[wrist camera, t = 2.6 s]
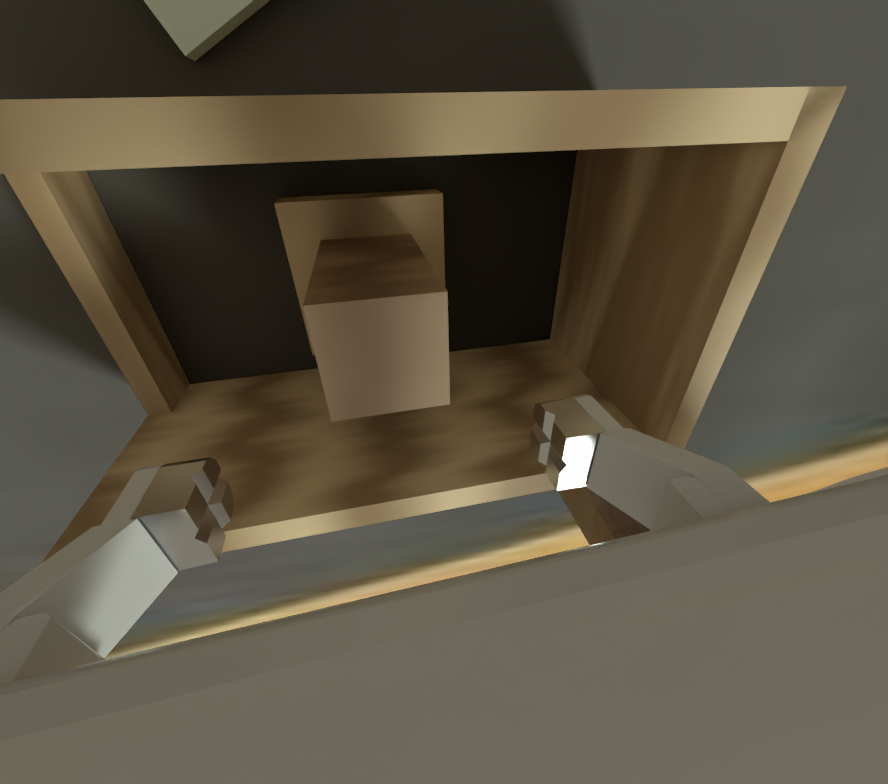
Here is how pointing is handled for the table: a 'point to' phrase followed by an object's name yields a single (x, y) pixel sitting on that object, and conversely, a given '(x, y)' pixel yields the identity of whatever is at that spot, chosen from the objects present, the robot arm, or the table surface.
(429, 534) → the table surface
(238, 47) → the table surface
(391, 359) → the walnut block
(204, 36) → the sage board
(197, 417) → the oak cubby
